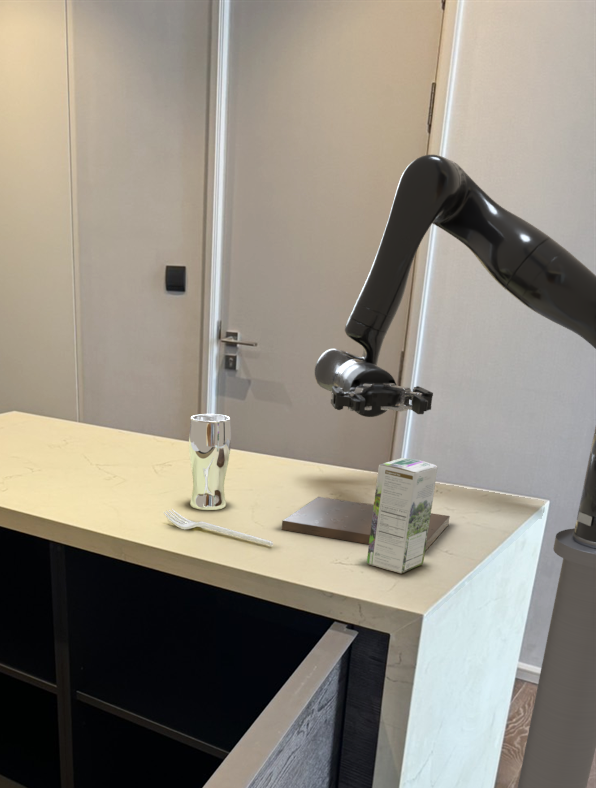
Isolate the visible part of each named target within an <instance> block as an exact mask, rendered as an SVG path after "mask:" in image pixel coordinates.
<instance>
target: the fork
mask: <svg viewBox="0 0 596 788" xmlns="http://www.w3.org/2000/svg"><path fill="white" fill-rule="evenodd" d="M162 513H163V514H164V516H165V517H166V518H167V519H168V521H170V522H171V524H173V525H175V527H177V528H178V529H181V530H191V529H193V528H202V529H206V530H210V531H212V532H213V531H214V532H218V533H222V534H224V535H228V536H231V537H236V538H240V539H244V540H247V541H250V542H255V543H258V544H262V545H265V546H266V545H267V546H269V547H272V546H274V542H273V541H271V540H269V539H266V538H265V539H264V538H261V537H258V536H255V535H251V534H248V533H244V532H241V531H237V530H233V529H231V528H226V527H223V526H220V525H217V524H213V523H209V522H206V521H201V520H200V521H193V520H190V519H188V518H186V517H184V516H183V515H181V514H180V513H179V512H178V511H176V510H175V509H174V508H171V510H170V509H168V510H166V511H162Z"/></svg>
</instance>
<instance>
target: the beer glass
mask: <svg viewBox="0 0 596 788" xmlns="http://www.w3.org/2000/svg"><path fill="white" fill-rule="evenodd" d="M231 419H232V418H231V417H230V416H228V415H224V414H220V413H219V414H218V413H216V414H215V413H202V414H201V413H200V414H195V415H192V416H191V417H190V425H189V435H188V454H189V462H190V468H191V477H192V492H191V497H190V502H189V504H190V507H191V508H192V509H195V510H200V511H218V510H222V509H224V508H225V507H226V506H227V503H226V494H225V480H226V475H227V470H228V465H229V461H230V456H231V455H230V454H231V448H232V447H231V446H232V428H231Z"/></svg>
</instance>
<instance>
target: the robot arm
mask: <svg viewBox="0 0 596 788" xmlns="http://www.w3.org/2000/svg"><path fill="white" fill-rule="evenodd" d="M432 225H434V226H436V227H438V228H440V229H441V230H443V231H445V232H446V233H447V234H449V235H451V237H453V238H455V239H456V240H457V241H459V242H460V243H462V244H463V245H464V246H465V247H467V248H468V249H469V250H470V251H471V252H472V254H473V255H474V257H476V259H477V260H478V261H479V263H480V264H481V266H483V268H484V269H485V270H486V271H487V273H488V274H489V275H490V277H492V278H493V279H494V280H495V281H496V282H497V283H498V284H499V285H500V286H501V287H502V288H503V289H504V290H505V291H507V292H508V293H509V294H510V295H511V296H513V298H515V299H516V300H517V301H519V302H520V303H521V304H523V305H524V306H525V307H527V308H528V309H530V310H532V311H533V312H535V313H537V314H538V315H539V316H541V317H543V318H546V319H547V320H549V321H551V322H552V323H555V324H557V325H559V326H560V327H563V328H565V329H567V330H569V331H571V332H573V333H575V334H576V335H578V336H579V337H581V338H582V339H583V340H585V341H586V342H587V343H588V344H590V346H592V347H593V348H594V349H595V350H596V274H595V273H594V272H592V271H591V270H590V269H589V268H588V267H587V266H586V265H585V264H583V263H582V262H581V261H580V260H579V259H578V258H577V257H576V256H574V255H573V254H572V252H570V251H569V250H567V249H566V248H565V247H564V246H562V244H560V243H559V242H557V241H556V240H555V239H553V238H552V237H551V236H549V235H548V234H547V233H545V232H544V231H542V230H540V228H537V227H536V226H534V224H531V223H530V222H528V220H527V221H526V219H524V218H522V217H519V215H516V214H515V213H512V212H511V211H510V210H507V209H505V208H504V207H503V206H502V205H500V204H499V203H497V202H496V201H495V200H494V199H493V198H492V197H490V196H489V194H488V193H486V192H485V191H484V189H482V188H481V187H480V186H479V185H478V184H477V183H476V182H475V181H474V180H473V179H472V178H471V176H469V175H468V174H467V172H466V171H465V170H464V169H463V168H462V167H461V166H460V165H459V164H458V163H456V162H454V161H453V160H451V159H449V158H447V157H445V156H441V155H438V154H425V155H421V156H419V157H417V158H416V159H414V160H413V161H411V162H410V163H409V164H408V165H407V167H406V168H405V170H404V171H403V172H402V175H401V177H400V179H399V182H398V185H397V188H396V191H395V195H394V199H393V202H392V205H391V208H390V212H389V216H388V219H387V223H386V226H385V229H384V231H383V235H382V238H381V240H380V243H379V246H378V249H377V252H376V254H375V257H374V260H373V262H372V265H371V267H370V270H369V272H368V274H367V277H366V279H365V282H364V284H363V286H362V288H361V290H360V292H359V295H358V296H357V298H356V301H355V303H354V306H353V307H352V309H351V312H350V315H349V316H348V319H347V321H346V323H345V325H344V333H345V335H346V336H347V337H348V338H349V339H350V340H352V341H354V342H355V343H357V344H358V345H360V346H361V347H362V350H363V351H362V355H361V356H359V355H356V354H354V353H351V352H348V351H346V350H343V349H340V348H334V347H333V348H328V349H327V350H325V351H324V352H322V354H321V355H320V356H319V357H318V358H317V360H316V363H315V365H314V371H313V372H314V379H315V382H316V383H317V385H318V386H319V387H320V388H322V389H324V390H327V391H328V392H331V394H330V404H331V406H332V407H333V409H334V410H336V411H341V410H344V407H346V408H347V410H348V411H350V412H355V413H356V414H358V415H360V416H362V417H366V418H375V417H378V416H381V415H383V414H385V413H386V412H388V411H397V412H407V411H408V410H410V411H412V412H414V413H415V414H417V415H424V413H425V412H428V411H431V410H432V402H433V396H434V392H432V391H430V390H428V389H426V388H424V387H422V386H419V385H416V386H413V388H412V389H411V388H410V387H408V386H401V385H397V383H396V380H395V378H394V377H393V375H392V374H391V373H390V372H388V370H385V369H383V368H382V367H380V366H378V363H379V358H380V354H381V351H382V347H383V344H384V340H385V338H386V335H387V333H388V331H389V329H390V328H391V326H392V323H393V322H394V319H395V317H396V315H397V312H398V311H399V308H400V307H401V303H402V300H403V297H404V295H405V292H406V288H407V284H408V280H409V275H410V272H411V269H412V265H413V261H414V259H415V257H416V254H417V252H418V249H419V247H420V245H421V243H422V241H423V239H424V237H425V236H426V234H427V233H428V231H429V229H430V227H431V226H432ZM410 403H411V404H410ZM589 452H590V453H589V457H588V462H587V467H586V472H585V477H584V481H583V487H582V492H581V496H580V502H579V506H578V510H577V511H578V512H577V517H576V522H575V526H574V528H575V530H574V532H573V537H572V538H573V540H574V541H575V542H577V543H579V544H581V545H584V546H587V547H590V548H594V549H596V426H595V427H594V433H593V437H592V442H591V447H590V451H589Z"/></svg>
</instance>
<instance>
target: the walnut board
mask: <svg viewBox="0 0 596 788" xmlns="http://www.w3.org/2000/svg"><path fill="white" fill-rule="evenodd" d="M373 508H374V504H371V503H365V502H358V501H351V500H344V499H337V498H330V497H325V496H317V497H315V498H314V499H312V500H311V501H310V502H308V503H307V504H305V505H303V506H301V507H300V508H298V510H296V511H294V512H293V513H292V514H290V515H288V516H287V517H286V518H284V519H282V521H281V530H282V531H289V532H294V533H300V534H305V535H311V536H318V537H323V538H329V539H335V540H341V541H348V542H351V543H359V544H366V545H369V540H370V532H371V524H372V516H373ZM450 518H451V516H450V515H445V514H440V513H433V512H431V516H430V522H429V528H428V535H427V542H426V548H425V552H426V551H427V550H428V548H429V547H430V546H431V545H432V544H433V543H434V542H435V541H436V539H438V537H439V536H440V535H441V534H442V533H443V532H444V531H445V529H446V528H447V527H448V526H449V525H450V524H449V523H450Z"/></svg>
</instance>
